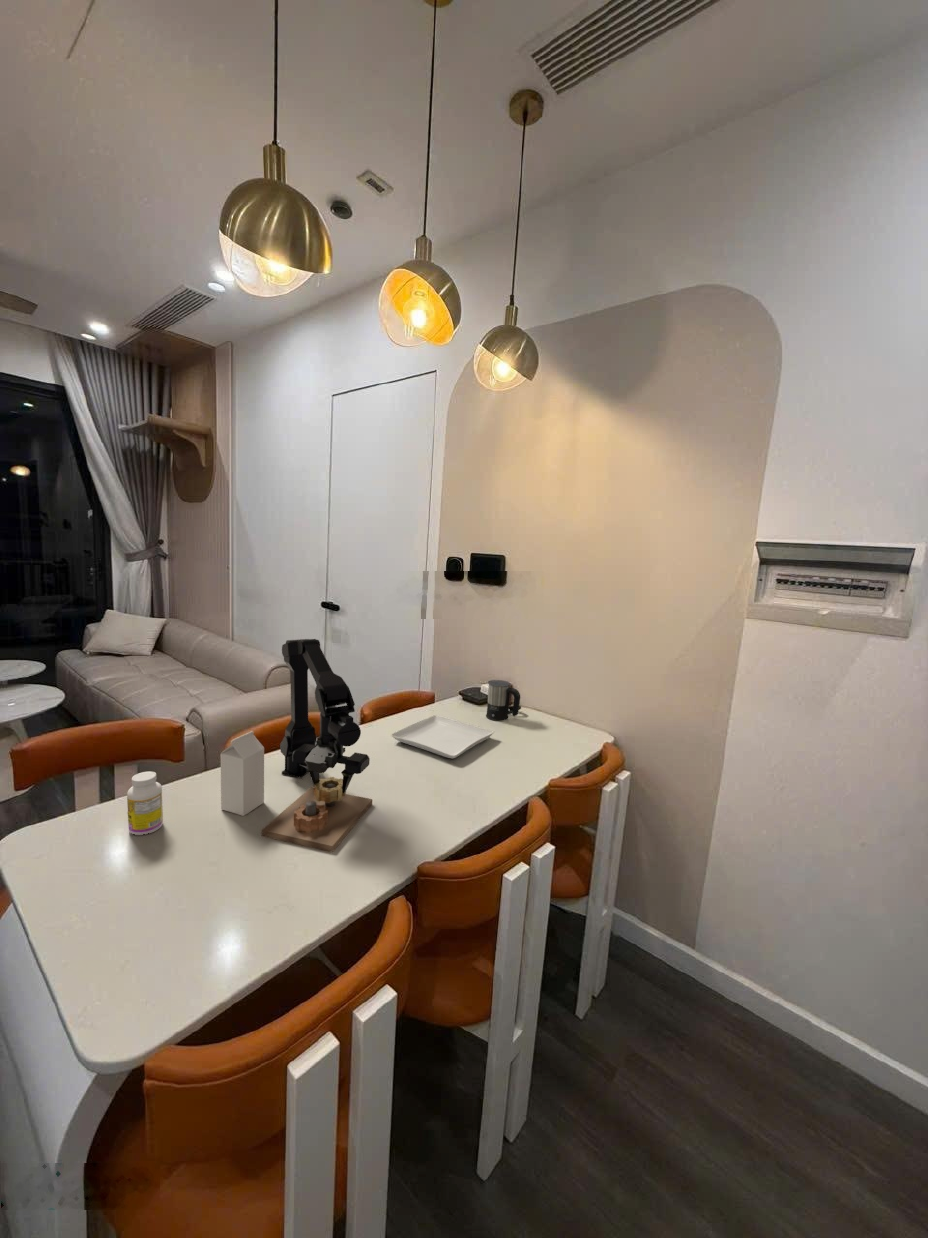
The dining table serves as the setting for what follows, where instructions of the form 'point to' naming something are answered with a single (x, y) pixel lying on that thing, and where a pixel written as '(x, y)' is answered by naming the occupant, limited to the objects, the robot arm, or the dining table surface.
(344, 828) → the gear board
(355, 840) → the dining table surface
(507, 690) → the milk frother
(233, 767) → the milk carton
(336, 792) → the wooden gear
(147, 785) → the supplement bottle
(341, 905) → the dining table surface
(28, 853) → the dining table surface
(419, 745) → the square plate
